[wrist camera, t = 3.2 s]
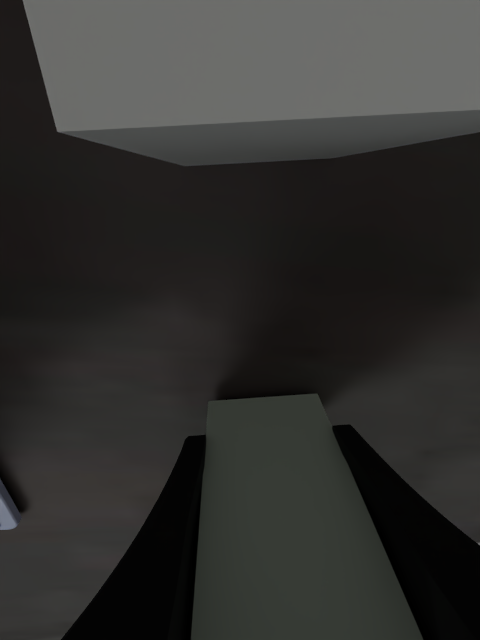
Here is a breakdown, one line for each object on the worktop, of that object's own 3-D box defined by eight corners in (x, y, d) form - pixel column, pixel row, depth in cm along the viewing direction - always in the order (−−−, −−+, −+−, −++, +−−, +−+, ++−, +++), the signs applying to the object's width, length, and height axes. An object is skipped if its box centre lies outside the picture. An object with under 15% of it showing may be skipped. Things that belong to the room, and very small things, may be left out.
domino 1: (184, 166, 9) (56, 130, 2) (177, 100, 8) (-44, -250, 1) (333, 158, 9) (657, 99, 2) (337, 92, 8) (826, -279, 2)
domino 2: (212, 431, 13) (197, 715, 6) (208, 401, 12) (188, 682, 5) (315, 423, 13) (415, 695, 6) (317, 393, 12) (433, 661, 5)
